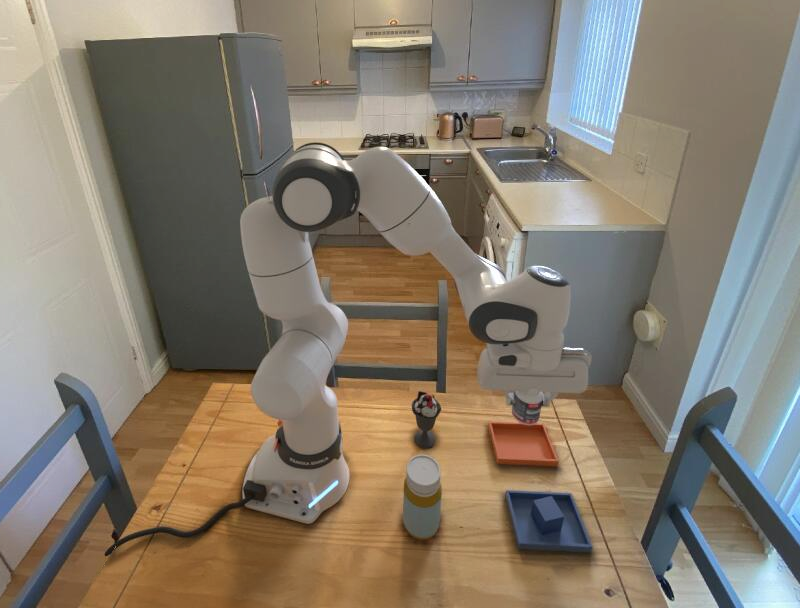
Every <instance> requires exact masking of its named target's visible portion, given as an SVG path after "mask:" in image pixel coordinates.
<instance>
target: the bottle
mask: <svg viewBox="0 0 800 608" xmlns="http://www.w3.org/2000/svg"><path fill="white" fill-rule="evenodd" d="M405 473H406V475H405V479H404V481H403V495H402V496H403V498H402V500H403V501H402V502H403V503H402V521H403V522H402V523H403V527H404V529H405V530H406V532H407V533H408V535H410V536H411V537H413V538H414V539H417V540H420V541H425V540H429V539H431V538H433V537H434V536H435V535H436V534H437V533H438V530H439V527H440V520H441V508H442V507H441V506H442V496H443V495H442V493H443V491H442V490H443V489H442V488H443V487H442V483H441V477H442V475H441V473H442V472H441V467H440V464H439V463H438V461H437V460H436V459H435V458H434V457H432V456H431V455H429V454H421V453H420V454H416V455H414V456H412V457H411V458H410V459H409V460H408V461H407V464H406V472H405Z"/></svg>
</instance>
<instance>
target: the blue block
mask: <svg viewBox="0 0 800 608" xmlns="http://www.w3.org/2000/svg"><path fill="white" fill-rule="evenodd" d="M531 516H532V517H533V519H534V521H535V523H536V525H537V526H538V528H539V530H540V532H541V534H542V535H544V534H548V533H552V532H556V531H560V530H561V528H562V524H563V521H564V515H563V513H562V512H561V510H560V509H559V507H558V505H557V504H556V502H555V501H554V499H553V497H552V496H550V497H546V498H542V499H537V500H533V504H532V509H531Z"/></svg>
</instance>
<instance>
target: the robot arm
mask: <svg viewBox="0 0 800 608" xmlns="http://www.w3.org/2000/svg"><path fill="white" fill-rule="evenodd" d="M272 184H273V185H272V194H271V195H269V196H265V197H261V198H258V199H255V200H254V201H252V202H251V203H249V204H248V205H247V206H246V207H245V208H244V209H243V211H242V212H241V215H240V218H239V224H240V225H239V226H240V228H239V229H240V238H241V239H240V240H241V245H242V251H243V257H244V261H245V266H246V268H247V272H248V277H249V279H250V283H251V286H252V289H253V293H254V297H255V300H256V304H257V307H258V309H259V310H260V312H261V313H262V314H264V315H265V316H267V317H268V318H271V319H274V320H278V321H280V322H281V324H282V332H281V336H280V337H279V338H278V340H277V341H276V342H275V343H274V345H273V346H272V347H271V348H270V350H268V352H267V353H266V355H265V356H264V357H263V358H262V360H261V362H260V364H259V366H258V367H257V369H256V372H255V373H254V377H253V378H252V380H251V383H250V395H251V398H252V400H253V402H254V405H255V406H256V407H257V409H259V410H260V412H262V413H263V414H264V415H266V416H267V417H269V418H271V419H274V420H278V421H277V426H278V427H279V428H278V429H276V432H275V434H272V435H271V436H269V437H267V438H266V439H265V440H264V441H263V443H262V444H261V446H260V448H259V449H258V450H257V452H256V453H255V454H254V455H253V457H252V459H251V461H250V462H249V465H248V468H247V469H246V473H245V475H244V479H243V484H242V492H241V493H242V494H241V495H242V499H241V500H240V501H237V502H231V503H229V504H227V505H225V506H224V507H222V508H220V509H219V510H218V511H217V512H216V513H215V514H214V515H212V517H211V518H209V520H207V521H206V522H205V523H204V524H203V525H201V526H200V527H198V528H196V529H193V530H189V531H183V530H181V529H180V530H179V529H176V528H173V527H170V526H157V527H156V526H155V527H151V528H147V529H142V530H139V531H135V532H133V533H130V534H128V535H126V536H123V537H122V538H120V539H119V540H117V541H115V542H114V543H113V544H112V545H110V546H109V547H108V548H107V550H106V551H104V554H103V555H104V557H109V556H110V555H111V554H113V552H114V551H115V550H116V549H117V548H119V547H121V546H123V545H124V544H126V543H128V542H130V541H132V540H135V539H138V538H141V537H146V536H150V535H154V534H168V535H171V536H174V537H177V538H181V539H189V538H193V537H196V536H198V535H200V534H202V533H203V532H206V530H208V529H209V528H210V527H211V526H212V525H213V524H214V523H215V522H216V521H217V520H218V519H219V518H220V517H222V516H223V515H224V514H226V513H227V512H229V511H231V510H234V509H240V508H241V507H243V506H244V507H245V508H247V509H251V510H255V511H258V512H261V513H265V514H269V515H272V516H276V517H280V518H284V519H287V520H291V521H295V522H299V523H302V524H306V525H310V524H313V523H314V522H315V521H316V520H317V519H318V518H319V516H320V515H321V514H322V513H323V512H324V511H326V510H328V509H330V508H331V507H333V506H334V505H335V504H337V503H338V502H339V501H340V500H341V499H342V498H343V496H344V495H345V493H346V491H347V489H348V487H349V483H350V479H351V478H350V477H351V475H350V468H349V465H348V464H347V462H346V460H345V457H344V454H343V447H344V445H343V443H344V442H343V432H342V426H341V422H340V420H339V405H338V398H337V395H336V393H335V392H334V390H332V388H330V387H329V386H328V385H326V383H327V379H328V376H329V374H330V371H331V370H332V368H333V366H334V364H335V362H336V361H337V359H338V357H339V355H340V353H341V351H342V350H343V348H344V346H345V342H346V339H347V335H348V331H349V320H348V317H347V316H346V314H345V313H344V311H343V310H342V309H341V308H340V307H338V306H337V305H336V304H335V303H332V302H329V301H328V300H327V298H326V296H325V295H324V292H323V289H322V288H321V283H320V280H319V275H318V272H317V271H318V270H317V267H316V263H315V259H314V253H313V250H312V246H311V242H310V237H309V233H313V232H314V233H315V232H319V231H321V230H324V229H326V228H329V227H330V226H332V225H335V224H336V223H338V222H340V221H342V220H345V219H348V218H351V217H353V216H354V215H355V214H356V212H358V213H360V214H362V215H363V216H364V217H365V218H366V220H368V221H369V222H370V224H371V225H373V227H374V228H375V229H376V230H377V231H378V232H379V233H380V235H381V236H382V237H383V238H384V239H385V240H386V241H387V242H388V243H389V244H390V245H391V246H393V247H394V248H395V249H397V250H398V251H400V253H402V254H403V255H404V256H405V255H406V256H412V257H413V256H414V257H416V256H422V255H426V254H429V253H430V254H431V255H432V256H433V257H434V258H435V259H436V261H438V263H439V264H440V265H441V266H443V267H444V268H445V270H446V271H447V272H448V273H449V275H451V276H452V279H453V282H454V286H455V290H456V293H457V295H458V297H459V300H460V302H461V306H462V309H463V313H464V316H465V318H466V319H465V320H466V322H467V325H468V328H469V331H470V332H471V334H472V335H473V337H474V338H476V339H477V340H479V341H480V342H482V343H484V344H486V345H485V346H486V348H484V349H483V350H482V351H481V353H480V356H479V359H478V364H477V368H476V378H477V383H478V386H479V387H480V388H481V389H482V390H483V391H502V392H503V395H504V397H505V403H506V406H512V405H514V406H515V402H516V399H515V397H514V392H515V391H528V390H529V389H530V388H534V389H538V392H542V393H543V401H542V406H541V408H542V407H545V408H546V407H547V408H549V407H550V406H551V402H552V401H553V400H554V399H556V398H557V397H558V396H559V393H563V394H583V393H584V392H585V391H586V390H588V385H589V368H590V366H591V364H592V359H593V357H592V354H591V352H589V351H588V350H585V348H582V347H578V348H577V347H576V348H570V347H564V343H565V334H564V330H565V328H566V326H567V325H568V322H569V317H570V311H571V302H572V291H571V285H570V283H569V281H568V280H567V279H566V278H565V277H564V276H563V275H562V273H560V272H559V271H556V270H555V269H552V268H550V267H547V266H544V265H529V266H527V267H526V268H525V269H524V270H523V272H522V273H520V274H519V275H517V276H516V277H513V278H512V279H510V280H507V277H506V274H505V272H504V270H503V269H502V268H501V267H500V266H499V265H498V264H497V263H494V262H493V261H491V260H489V259H487V258H485V257H483V256H480V255H478V254H477V253H476V252H475V251H474V250H473V249H472V248H471V246H469V244H468V243H467V242H466V241H465V240H464V239H463V237H461V235H460V234H459V233H458V232H457V230H455V229H454V227H453V225H452V220H451V217H450V216H449V213H448V211H447V210H446V208H445V206H444V204H443V203H442V201H441V200H440V198H439V197H438V196H437V194H436V193H435V191H434V190H433V189H432V187H431V186H430V185H429V184H428V183H427V182H426V180H425V179H424V178H423V177H422V176H421V175H420V174H419V173H418V172H417V171H416V170H415V169H414V168H413V167H412V166H411V165H410V164H409V163H408V162H407V161H406V160H405V159H403V158H402V157H401V156H400V155H399V154H398V153H396V152H395V151H394V150H392V149H391V148H388V147H386V146H374V147H370V148H368V149H366V150H365V151H362V152H361V153H360V154H358V155H357V156H356V157H355V158H352V159H349V160H347V159H344V157H343V156H342V154H341V153H340V152H339V151H338V150H337V149H336V148H334V147H333V146H332V145H329V144H327V143H324V142H308V143H304V144H302V145H301V146H299V147H297V148H296V149H295V150H294V151H293V152H292V153H291V154H290V155H289V156H288V157H287V158H286V159H285V160H284V162H283V163H282V165H281V167H280V169H279V172H278V173H277V175H276V177H275V179H274V182H273V183H272ZM115 546H116V548H115ZM114 548H115V549H114ZM113 550H114V551H113ZM112 551H113V552H112Z"/></svg>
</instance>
